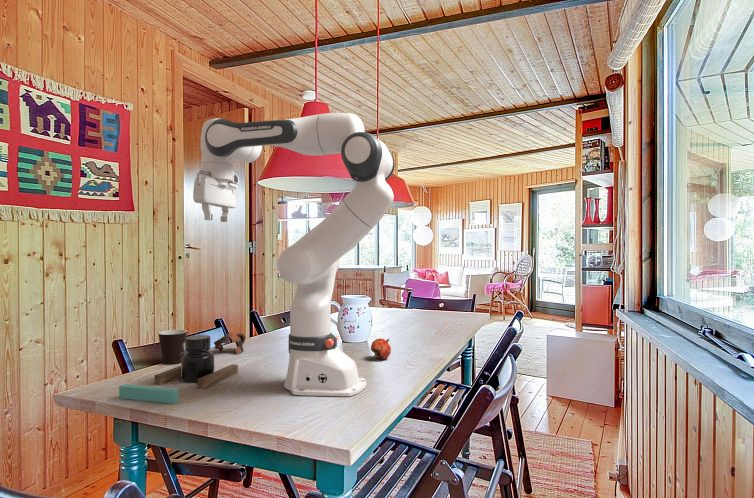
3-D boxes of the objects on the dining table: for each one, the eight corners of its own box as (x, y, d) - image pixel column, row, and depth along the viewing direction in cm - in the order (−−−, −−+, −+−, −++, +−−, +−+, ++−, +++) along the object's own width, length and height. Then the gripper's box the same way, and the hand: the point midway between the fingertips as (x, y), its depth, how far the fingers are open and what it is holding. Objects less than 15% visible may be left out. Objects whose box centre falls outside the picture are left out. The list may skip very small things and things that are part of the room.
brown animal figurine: (233, 358, 157) (221, 337, 157) (217, 366, 162) (205, 347, 161) (255, 342, 168) (244, 323, 167) (240, 351, 172) (229, 332, 172)
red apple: (380, 369, 149) (401, 348, 152) (366, 352, 148) (388, 332, 151) (372, 366, 156) (392, 346, 159) (359, 350, 155) (379, 330, 158)
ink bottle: (200, 372, 137) (200, 333, 137) (221, 376, 133) (221, 335, 133) (173, 380, 129) (173, 338, 129) (194, 385, 124) (194, 341, 124)
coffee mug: (176, 366, 144) (176, 335, 144) (152, 364, 146) (152, 334, 146) (197, 357, 155) (197, 328, 155) (175, 356, 157) (175, 327, 157)
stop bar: (178, 401, 111) (178, 389, 111) (172, 404, 109) (172, 391, 109) (125, 395, 116) (125, 383, 116) (119, 398, 114) (119, 386, 114)
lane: (237, 373, 136) (237, 364, 136) (204, 389, 121) (204, 379, 121) (192, 369, 141) (192, 361, 141) (154, 384, 125) (154, 375, 125)
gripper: (208, 168, 123) (208, 218, 123) (241, 179, 144) (241, 222, 144) (187, 169, 124) (187, 219, 124) (223, 179, 144) (223, 223, 145)
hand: (216, 221), depth 134 cm, fingers open, 8 cm apart
